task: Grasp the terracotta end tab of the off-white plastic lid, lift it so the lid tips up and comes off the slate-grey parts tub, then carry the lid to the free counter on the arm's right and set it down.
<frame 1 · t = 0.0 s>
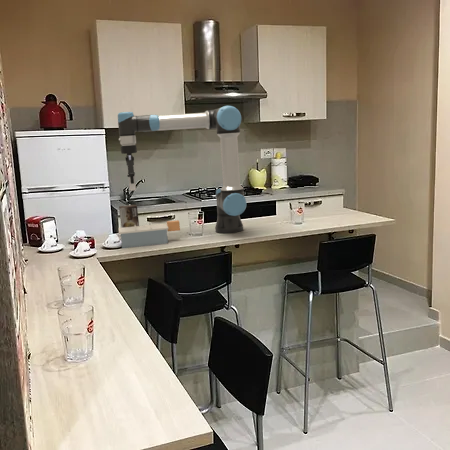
hand: (132, 189, 253), 28 cm above the worktop, fingers open, 13 cm apart
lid: (143, 229, 255), point 8 cm above the worktop, touching tub
tub: (144, 245, 257), on the worktop
coffee box: (131, 235, 287), on the worktop
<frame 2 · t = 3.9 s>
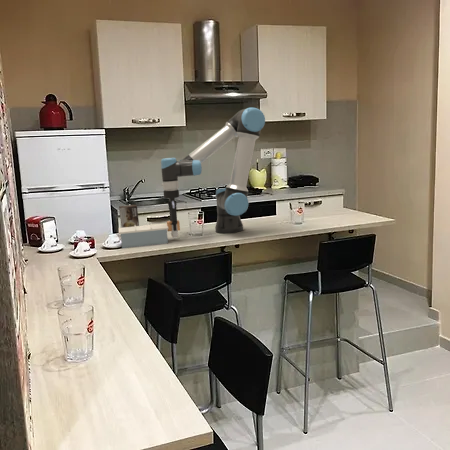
hand: (174, 236, 259), 3 cm above the worktop, fingers closed on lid, 3 cm apart
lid: (143, 229, 255), point 8 cm above the worktop, touching gripper, tub
everything else where it was.
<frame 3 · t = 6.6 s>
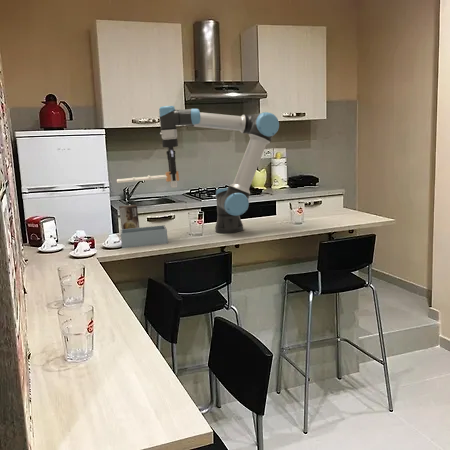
hand: (174, 187, 255), 27 cm above the worktop, fingers closed on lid, 3 cm apart
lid: (141, 179, 251), point 32 cm above the worktop, touching gripper
everything else where it was.
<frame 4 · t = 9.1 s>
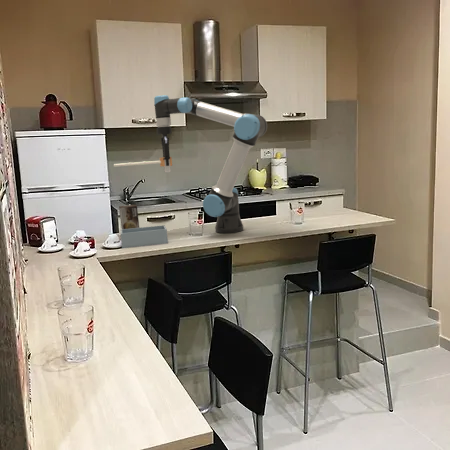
hand: (167, 171, 272), 34 cm above the worktop, fingers closed on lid, 3 cm apart
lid: (137, 164, 268), point 39 cm above the worktop, touching gripper
everything else where it was.
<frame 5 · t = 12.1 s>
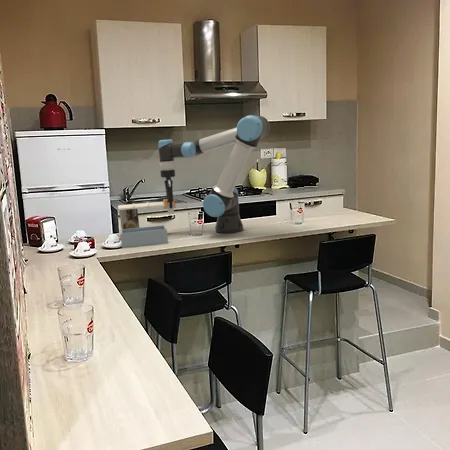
hand: (171, 213, 276), 12 cm above the worktop, fingers closed on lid, 3 cm apart
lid: (141, 206, 272), point 17 cm above the worktop, touching gripper
everything else where it was.
when the fingers open (2 cm above the worktop, at t = 14.6 s): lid drops 6 cm, point 1 cm above the worktop.
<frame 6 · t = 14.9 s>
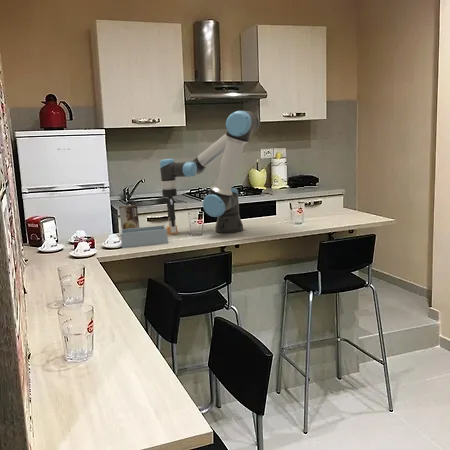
hand: (172, 230, 277), 2 cm above the worktop, fingers open, 8 cm apart
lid: (144, 236, 275), point 1 cm above the worktop, tilted 5°
everything else where it was.
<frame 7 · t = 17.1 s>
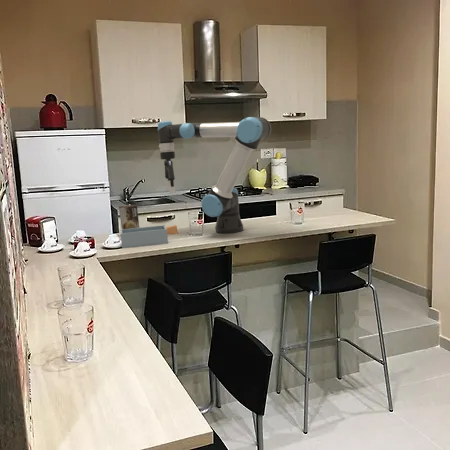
hand: (171, 191, 275), 23 cm above the worktop, fingers open, 13 cm apart
nothing on the worktop moved.
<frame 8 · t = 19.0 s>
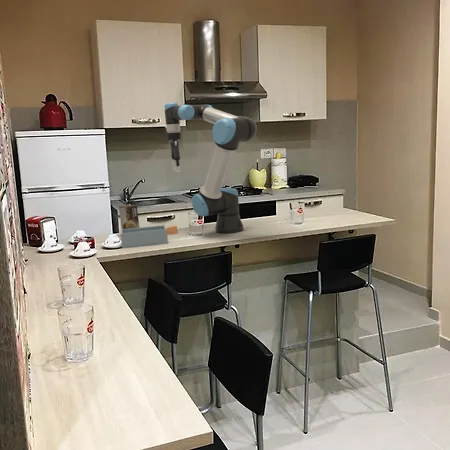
hand: (176, 171, 285), 33 cm above the worktop, fingers open, 13 cm apart
nothing on the worktop moved.
at the end: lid touching worktop; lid point 0.9 cm above the worktop; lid moved 20.2 cm from its start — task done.
